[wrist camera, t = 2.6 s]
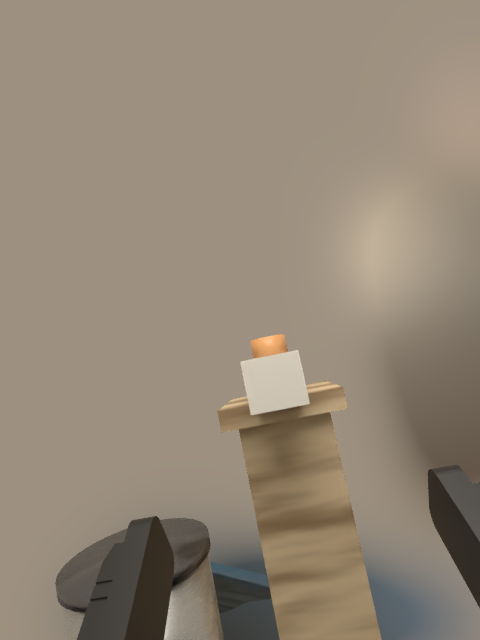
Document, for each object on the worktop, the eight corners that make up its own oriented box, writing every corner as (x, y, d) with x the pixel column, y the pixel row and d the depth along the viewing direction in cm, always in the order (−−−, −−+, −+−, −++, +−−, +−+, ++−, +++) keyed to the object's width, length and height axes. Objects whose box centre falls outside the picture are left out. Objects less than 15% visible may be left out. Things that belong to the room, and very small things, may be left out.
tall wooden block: (433, 776, 30) (342, 386, 35) (289, 793, 31) (217, 411, 36) (389, 660, 42) (325, 380, 47) (285, 675, 43) (232, 399, 47)
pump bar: (310, 403, 27) (291, 318, 28) (250, 415, 27) (233, 330, 28) (295, 386, 47) (284, 337, 48) (261, 393, 47) (251, 343, 48)
